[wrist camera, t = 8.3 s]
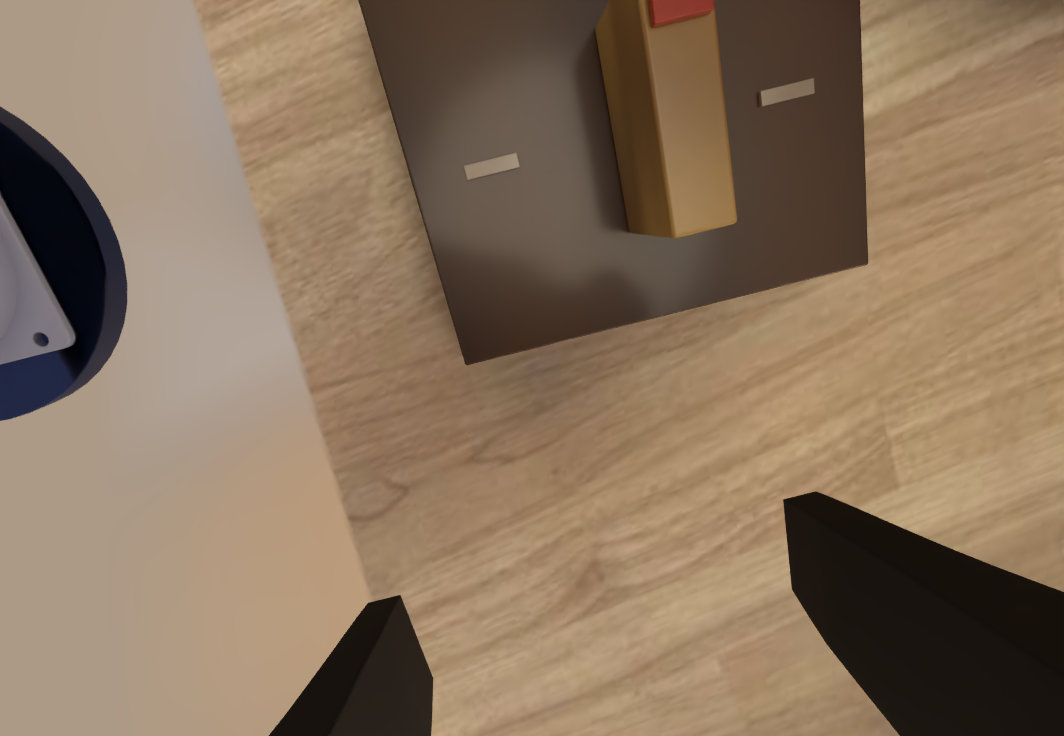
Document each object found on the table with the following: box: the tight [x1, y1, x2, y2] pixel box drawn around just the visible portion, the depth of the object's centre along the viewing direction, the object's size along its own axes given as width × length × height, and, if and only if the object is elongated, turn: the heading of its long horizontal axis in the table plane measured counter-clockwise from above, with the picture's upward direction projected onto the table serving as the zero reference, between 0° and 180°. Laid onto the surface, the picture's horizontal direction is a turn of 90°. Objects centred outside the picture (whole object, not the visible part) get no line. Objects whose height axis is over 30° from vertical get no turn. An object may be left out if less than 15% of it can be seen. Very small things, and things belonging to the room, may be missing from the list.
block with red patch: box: [595, 0, 737, 238], centre depth 11 cm, size 5×1×4 cm, turn 13°
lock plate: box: [359, 0, 868, 365], centre depth 14 cm, size 12×10×3 cm
